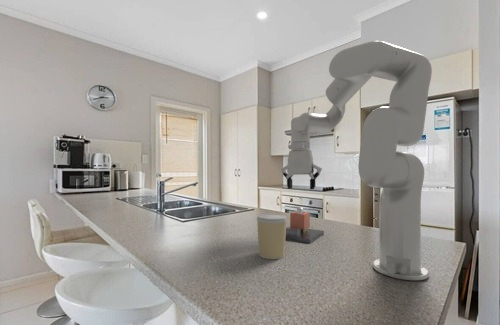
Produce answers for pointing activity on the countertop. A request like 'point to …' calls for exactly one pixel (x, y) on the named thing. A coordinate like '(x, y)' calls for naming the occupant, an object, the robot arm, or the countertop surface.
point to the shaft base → (306, 236)
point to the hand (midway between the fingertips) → (300, 188)
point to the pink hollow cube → (300, 220)
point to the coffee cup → (271, 235)
